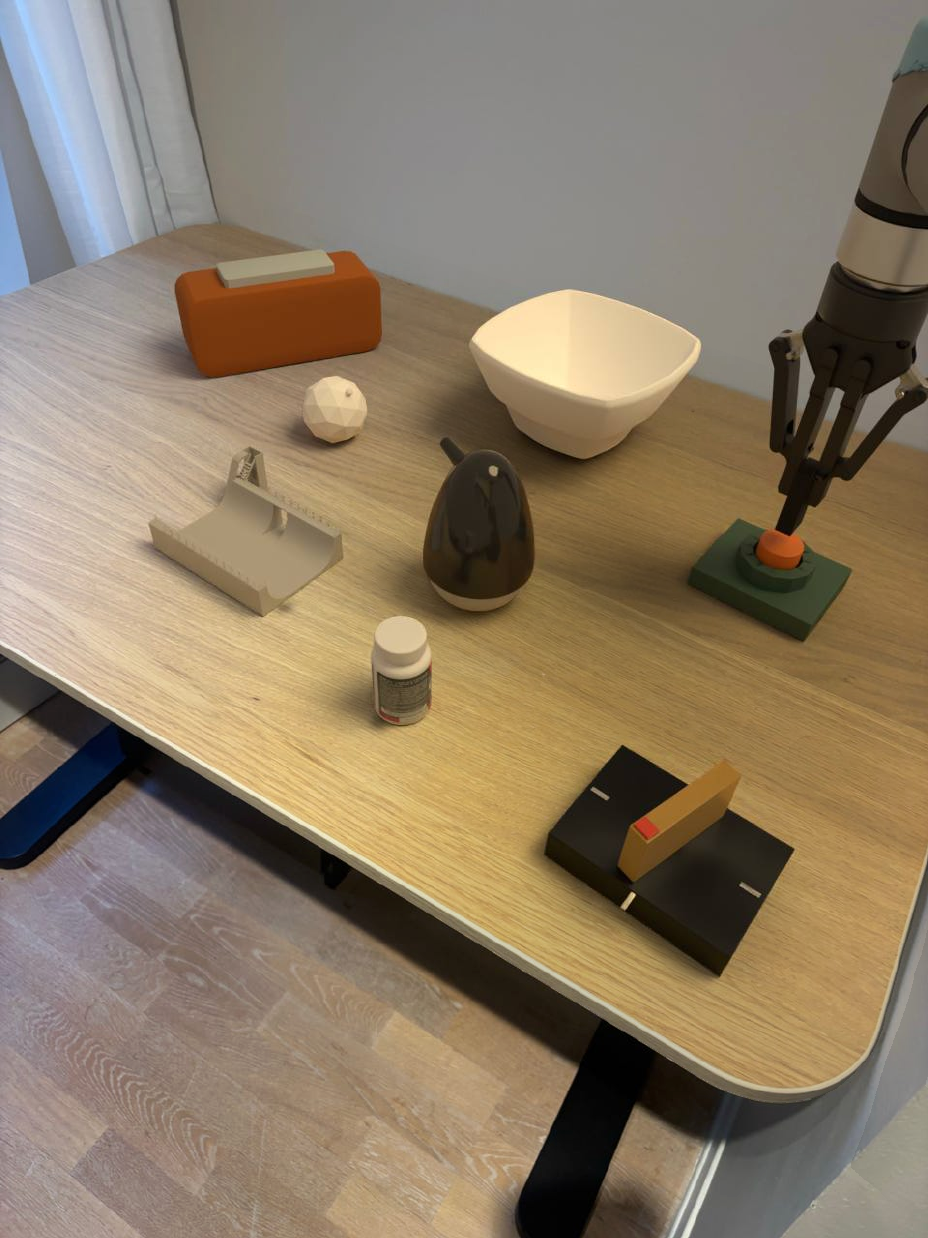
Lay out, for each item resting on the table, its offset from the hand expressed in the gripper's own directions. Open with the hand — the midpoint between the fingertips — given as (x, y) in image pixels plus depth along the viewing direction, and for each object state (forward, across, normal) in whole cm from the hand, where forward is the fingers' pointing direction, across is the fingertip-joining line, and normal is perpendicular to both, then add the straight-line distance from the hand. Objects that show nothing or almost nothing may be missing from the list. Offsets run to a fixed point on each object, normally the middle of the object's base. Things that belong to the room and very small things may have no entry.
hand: (788, 525), depth 80 cm
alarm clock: (+8, +68, -1) cm, 68 cm away
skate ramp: (+7, +41, +28) cm, 50 cm away
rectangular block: (+4, -7, +33) cm, 34 cm away
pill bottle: (+7, +17, +34) cm, 39 cm away
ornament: (+8, +49, +9) cm, 50 cm away
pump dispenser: (+7, +21, +19) cm, 29 cm away
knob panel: (+7, -7, +33) cm, 35 cm away
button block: (+7, 0, 0) cm, 7 cm away
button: (+4, 0, 0) cm, 4 cm away
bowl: (+8, +29, -10) cm, 31 cm away
